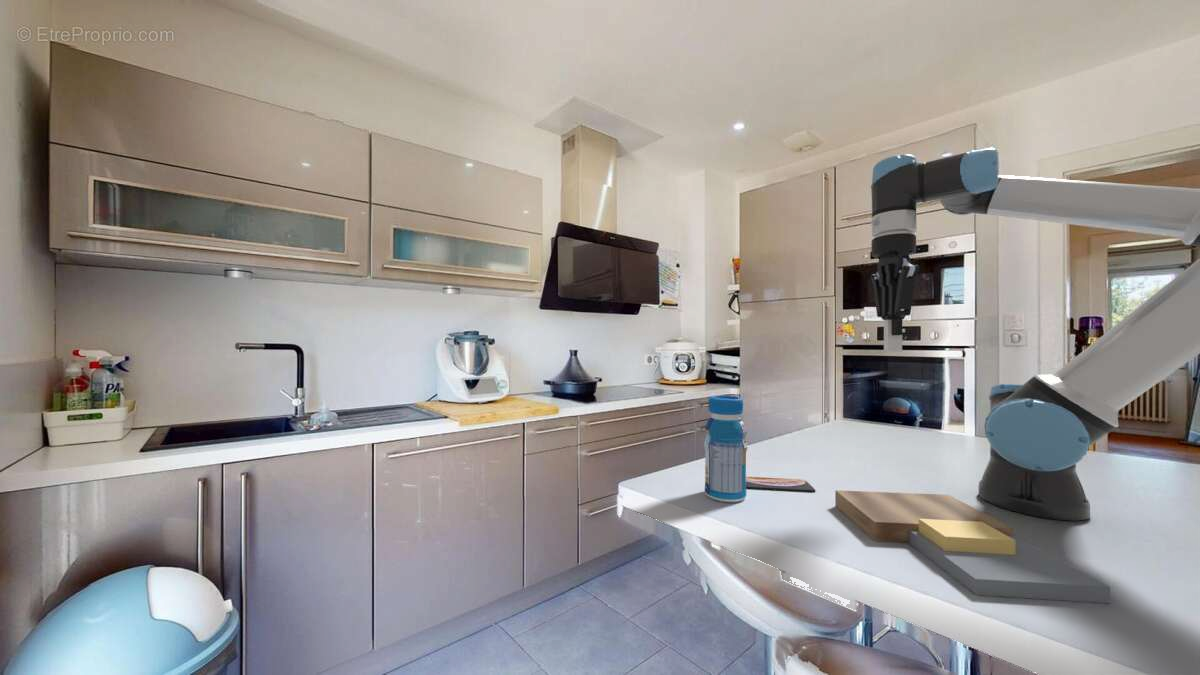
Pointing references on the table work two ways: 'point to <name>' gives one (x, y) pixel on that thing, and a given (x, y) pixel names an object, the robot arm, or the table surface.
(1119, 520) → the table surface
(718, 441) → the beverage bottle
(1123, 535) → the table surface
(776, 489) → the smartphone
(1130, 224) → the robot arm
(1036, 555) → the mat
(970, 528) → the tile
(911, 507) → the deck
